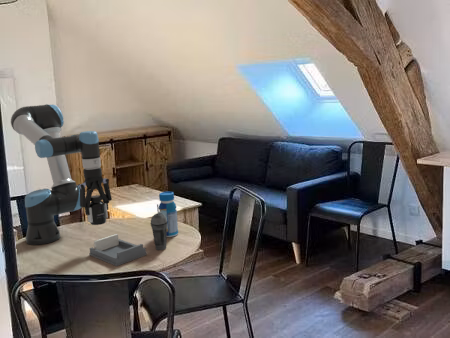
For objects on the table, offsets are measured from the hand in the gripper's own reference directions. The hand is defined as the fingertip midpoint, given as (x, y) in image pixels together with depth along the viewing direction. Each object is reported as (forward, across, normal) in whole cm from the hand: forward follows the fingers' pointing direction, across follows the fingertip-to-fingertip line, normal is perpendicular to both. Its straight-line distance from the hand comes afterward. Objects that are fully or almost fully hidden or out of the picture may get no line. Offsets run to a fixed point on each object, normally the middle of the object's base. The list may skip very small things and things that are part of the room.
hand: (98, 219), depth 211 cm
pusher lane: (+13, 0, -13) cm, 18 cm away
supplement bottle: (+2, 0, 0) cm, 2 cm away
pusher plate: (+12, 0, -5) cm, 13 cm away
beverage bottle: (+14, +30, -11) cm, 35 cm away
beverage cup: (+14, +16, -22) cm, 30 cm away
